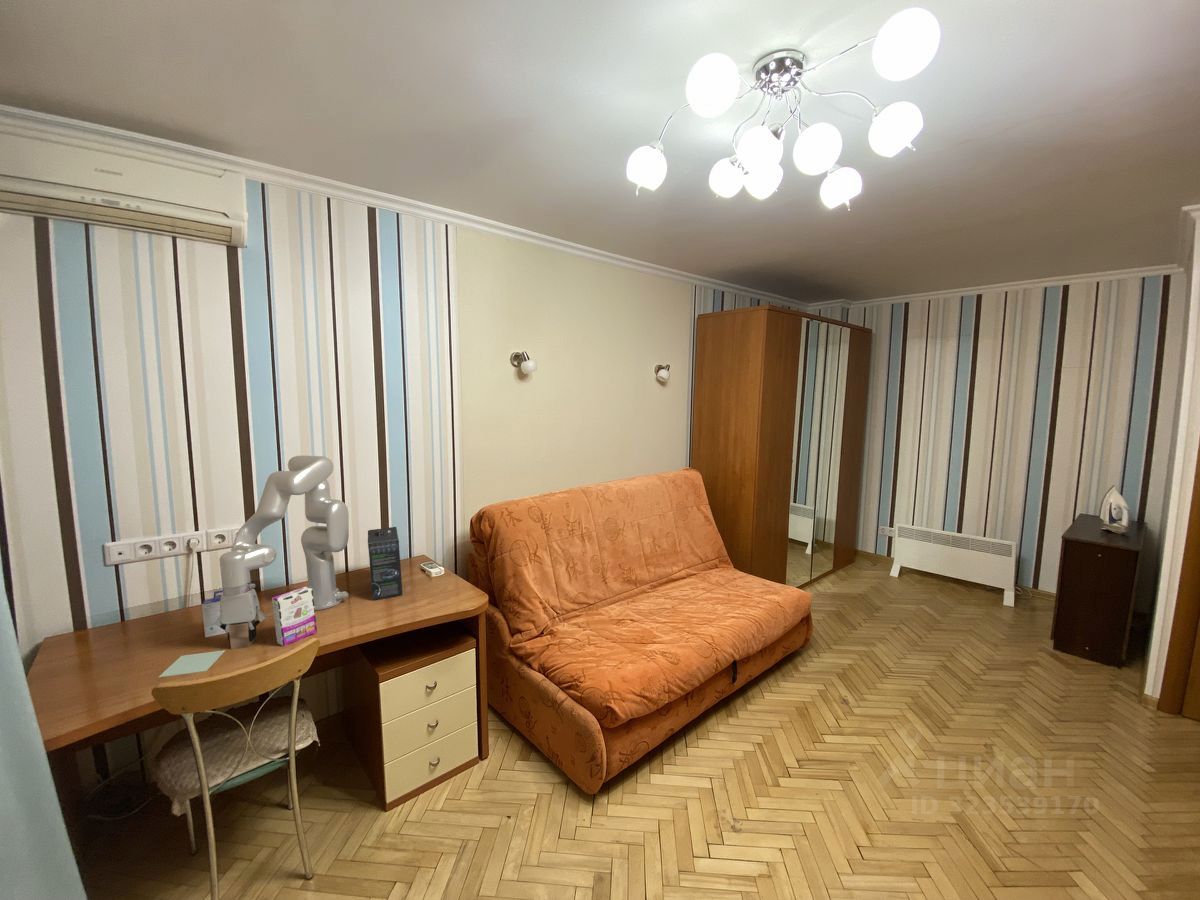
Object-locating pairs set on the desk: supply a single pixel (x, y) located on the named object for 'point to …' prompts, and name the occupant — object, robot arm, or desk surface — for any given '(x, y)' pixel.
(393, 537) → the headset box
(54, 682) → the desk surface
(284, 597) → the candy bar box
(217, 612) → the ink cartridge box
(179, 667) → the green mat
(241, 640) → the walnut block
